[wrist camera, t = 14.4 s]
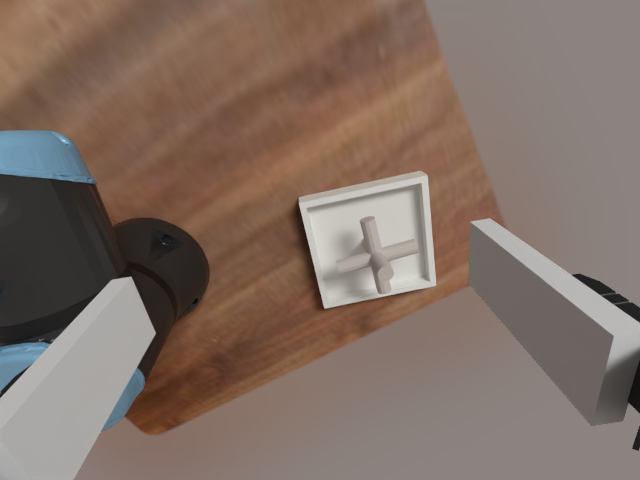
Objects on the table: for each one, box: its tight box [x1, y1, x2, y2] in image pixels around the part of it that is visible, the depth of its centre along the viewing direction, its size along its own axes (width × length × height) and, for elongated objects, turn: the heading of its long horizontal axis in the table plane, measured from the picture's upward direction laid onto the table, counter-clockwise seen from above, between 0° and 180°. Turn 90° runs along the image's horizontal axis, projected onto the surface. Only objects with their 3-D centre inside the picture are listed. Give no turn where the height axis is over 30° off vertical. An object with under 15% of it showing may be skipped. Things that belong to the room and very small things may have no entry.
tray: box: [299, 171, 436, 309], centre depth 48 cm, size 16×16×2 cm
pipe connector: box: [336, 216, 418, 294], centre depth 43 cm, size 10×10×10 cm
